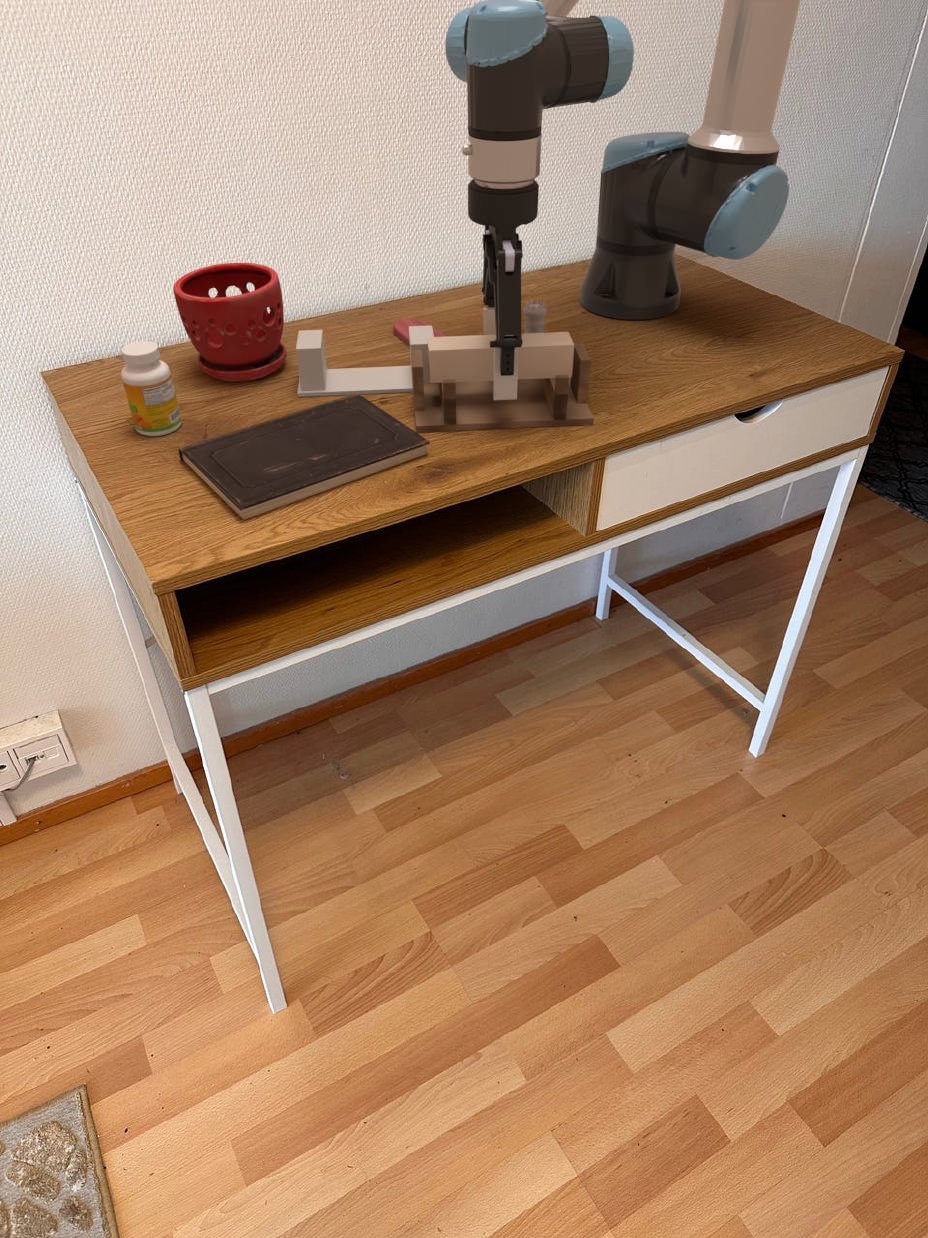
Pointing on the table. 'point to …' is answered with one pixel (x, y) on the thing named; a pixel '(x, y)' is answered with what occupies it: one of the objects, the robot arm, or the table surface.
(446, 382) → the rack
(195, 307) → the plant pot
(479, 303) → the table surface
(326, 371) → the stand
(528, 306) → the rook chess piece
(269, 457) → the hardcover book
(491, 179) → the robot arm
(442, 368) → the beige rectangular bar
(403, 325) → the popsicle
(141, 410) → the supplement bottle
